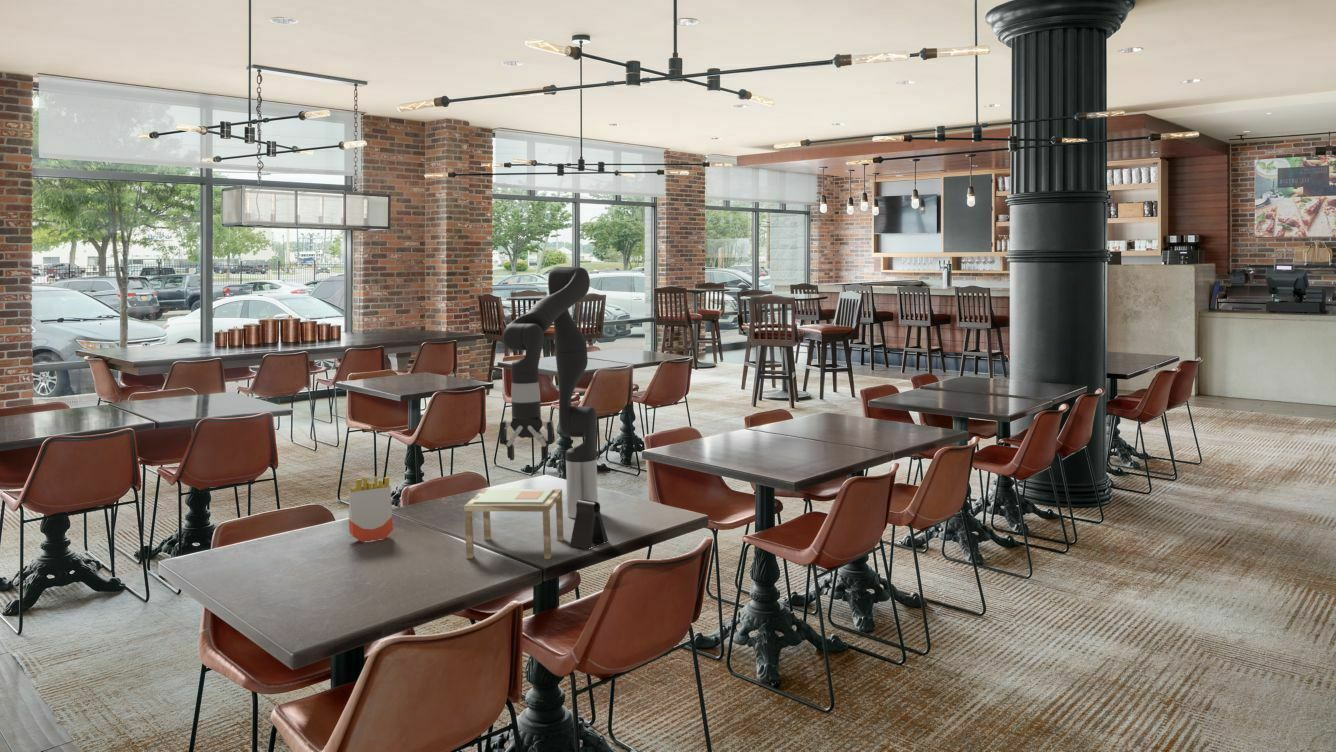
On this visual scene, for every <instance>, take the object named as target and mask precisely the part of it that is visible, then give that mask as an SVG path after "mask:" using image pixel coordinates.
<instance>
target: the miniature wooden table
mask: <svg viewBox="0 0 1336 752" xmlns="http://www.w3.org/2000/svg"><path fill="white" fill-rule="evenodd" d="M552 489H553V488H552ZM487 490H488V489H487V488H486V489H485V488H483V489H482V490H481V491H480V492H478V493H477V494H476V495H475V496H474V497H473V498H472V499H470V500H469V501H468V502H466V504H465V505H464V507H463V509H464V511H463V512H464V525H465V526H464V528H465V529H464V532H465V548H466V549H465V551H466V552H465V553H466V559H473V558H474V557H475V550H474V546H475V545H474V528H473V527H474V525H473V512H482V518H483V519H482V521H483V537H484V538H483V540H484V541H490V540H491V539H492V532H491V531H492V530H491V512H522V513H523V512H525V513H527V512H532V513H533V512H535V513H536V512H538V513H539V512H542V529H543V530H542V532H543V533H542V535H543V556H544V557H543V559H545V560H551V558H552V542H551V541H552V539H551V538H552V535H551V513H550V512H551V509H552V508H553V507H554V506H555V514H556V517H555V518H556V541H563V540H564V509H563V505H564V504H563V489H562V488H561V489H559V488H558V489H556V488H555V489H553V494H552V495H551V496H550V497H549V499H548V500H547V501H546V502H545V503H544V504H474V501H476V500H477V499H478V498H479V497H480V496H481V495H483V494H484V493H485V492H486V491H487Z"/></svg>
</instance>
